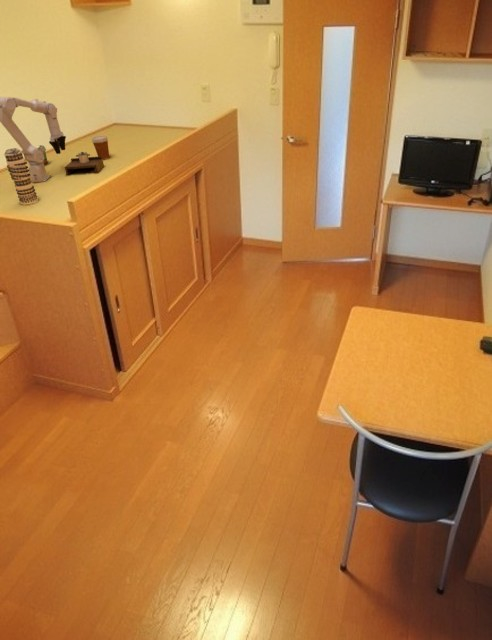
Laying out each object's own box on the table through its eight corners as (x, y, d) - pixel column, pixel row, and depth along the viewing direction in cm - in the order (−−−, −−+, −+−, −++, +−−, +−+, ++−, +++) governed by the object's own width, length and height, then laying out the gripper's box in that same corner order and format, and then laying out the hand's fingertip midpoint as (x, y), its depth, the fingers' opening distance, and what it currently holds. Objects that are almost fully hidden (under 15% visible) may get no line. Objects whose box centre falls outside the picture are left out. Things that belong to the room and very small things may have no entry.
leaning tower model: (41, 197, 243) (25, 146, 229) (35, 203, 235) (18, 151, 221) (23, 199, 243) (5, 147, 229) (17, 205, 235) (-2, 153, 221)
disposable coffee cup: (93, 159, 295) (87, 139, 288) (103, 155, 302) (98, 135, 295) (104, 160, 291) (100, 140, 284) (115, 156, 298) (110, 136, 291)
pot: (90, 162, 273) (87, 152, 270) (76, 163, 273) (73, 153, 270) (92, 160, 277) (90, 150, 274) (79, 160, 278) (76, 151, 275)
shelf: (97, 173, 270) (95, 162, 267) (66, 175, 272) (63, 165, 268) (104, 166, 281) (101, 156, 278) (74, 168, 282) (71, 158, 279)
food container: (43, 167, 289) (37, 150, 283) (34, 167, 290) (28, 150, 285) (53, 161, 299) (48, 144, 293) (45, 161, 300) (39, 145, 295)
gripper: (56, 129, 261) (63, 154, 269) (65, 123, 273) (72, 147, 281) (43, 130, 262) (51, 155, 269) (53, 124, 274) (60, 148, 281)
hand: (61, 151), depth 275 cm, fingers open, 7 cm apart
